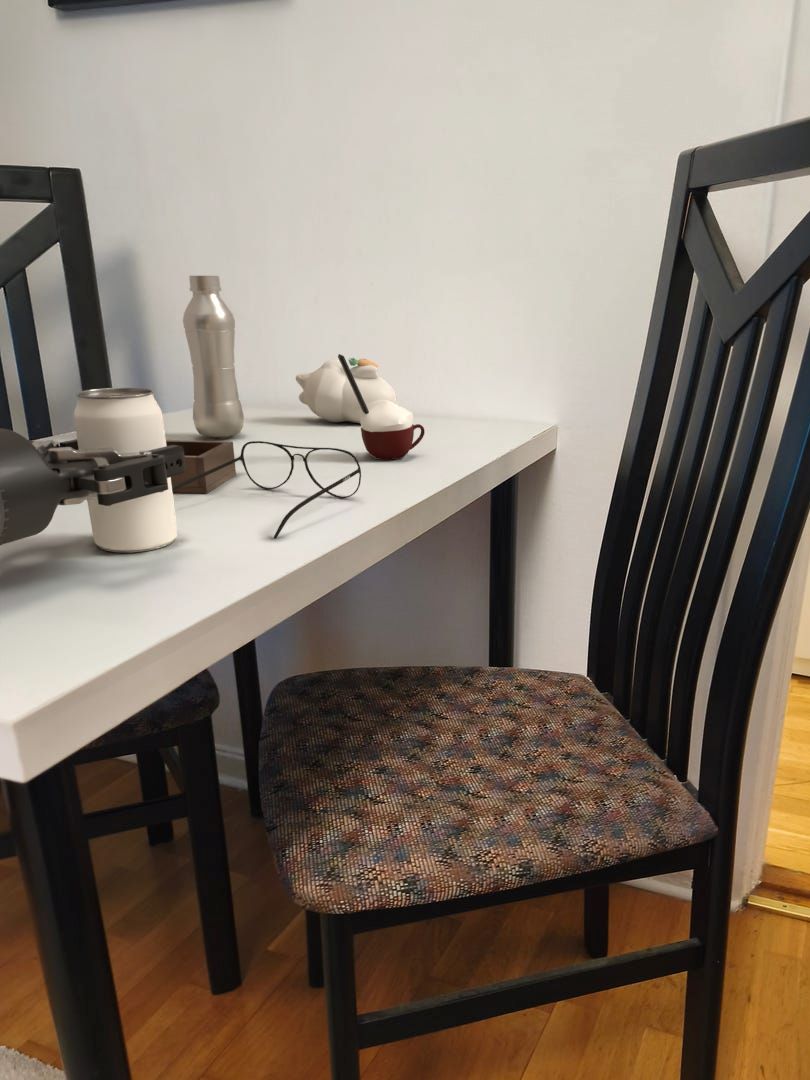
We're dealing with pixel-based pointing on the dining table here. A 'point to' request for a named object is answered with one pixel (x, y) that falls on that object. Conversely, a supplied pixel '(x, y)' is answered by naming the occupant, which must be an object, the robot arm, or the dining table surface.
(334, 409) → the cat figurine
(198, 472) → the tray
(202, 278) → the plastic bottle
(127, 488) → the robot arm
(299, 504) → the glasses
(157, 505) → the can
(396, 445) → the cocoa
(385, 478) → the dining table surface
